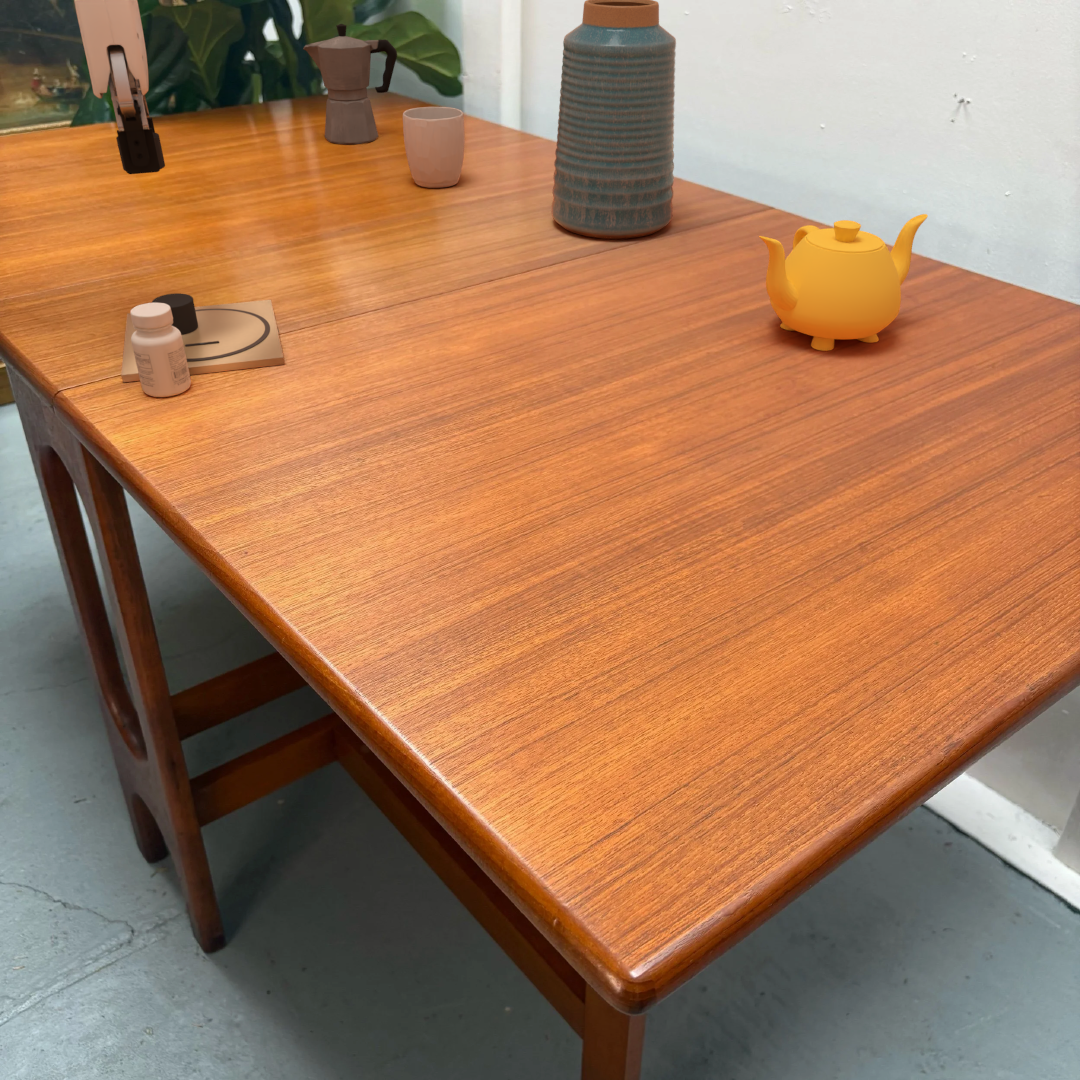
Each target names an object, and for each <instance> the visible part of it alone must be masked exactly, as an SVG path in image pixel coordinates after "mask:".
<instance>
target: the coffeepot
mask: <svg viewBox="0 0 1080 1080" xmlns="http://www.w3.org/2000/svg"><path fill="white" fill-rule="evenodd" d="M335 28H336V30H337V34H338V36H335V37H332V38H329V39H325V40H321V41H316V42H312V43H309V44H305V45H304V46H303V51H306V52H307V53H308V55H309V56H310V57H311V59H312V60H313V62H314V64H315V65H316V67H317V68H318V69H319V71H320V74H321V78H322V82H323V86H324V88H326V89H327V99H326V104H325V105H326V107H325V126H324V128H325V129H324V138H325V140H326V141H327V142H329V143H332V144H336V145H361V144H362V145H363V144H368V143H371V142H375V141H376V140H377V139H378V138H379V132H378V129H377V128H378V127H377V124H376V119H375V115H374V112H373V107H372V103H371V100H370V98H369V97H368V90H367V88H368V87H370V81H371V79H370V77H371V59H372V54H378V53H383V52H385V53H386V58H385V63H384V71H383V73H382V85H380V86H375V87H374V89H375V91H376V93H377V94H384V93H388V91H389V89H390V85H391V83H392V81H391V80H392V78H393V73H394V70H395V66H396V61H397V58H398V52H397V49H396V48H395V46H394V45H393V44H392V43H391V42H390V41H389V40H388V39H368V40H362V39H360V38H359V39H358V38H355V37H351V36H347V24H343V23H339V24H337V25H336V27H335Z"/></svg>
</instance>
